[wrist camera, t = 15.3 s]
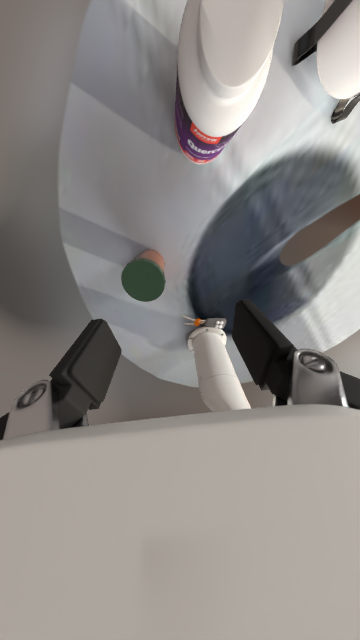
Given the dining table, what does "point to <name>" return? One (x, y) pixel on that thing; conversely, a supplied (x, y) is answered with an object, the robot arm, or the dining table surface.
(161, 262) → the jar
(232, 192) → the dining table surface
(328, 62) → the coffee press
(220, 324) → the key chain
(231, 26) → the pill bottle
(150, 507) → the robot arm
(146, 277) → the lid
